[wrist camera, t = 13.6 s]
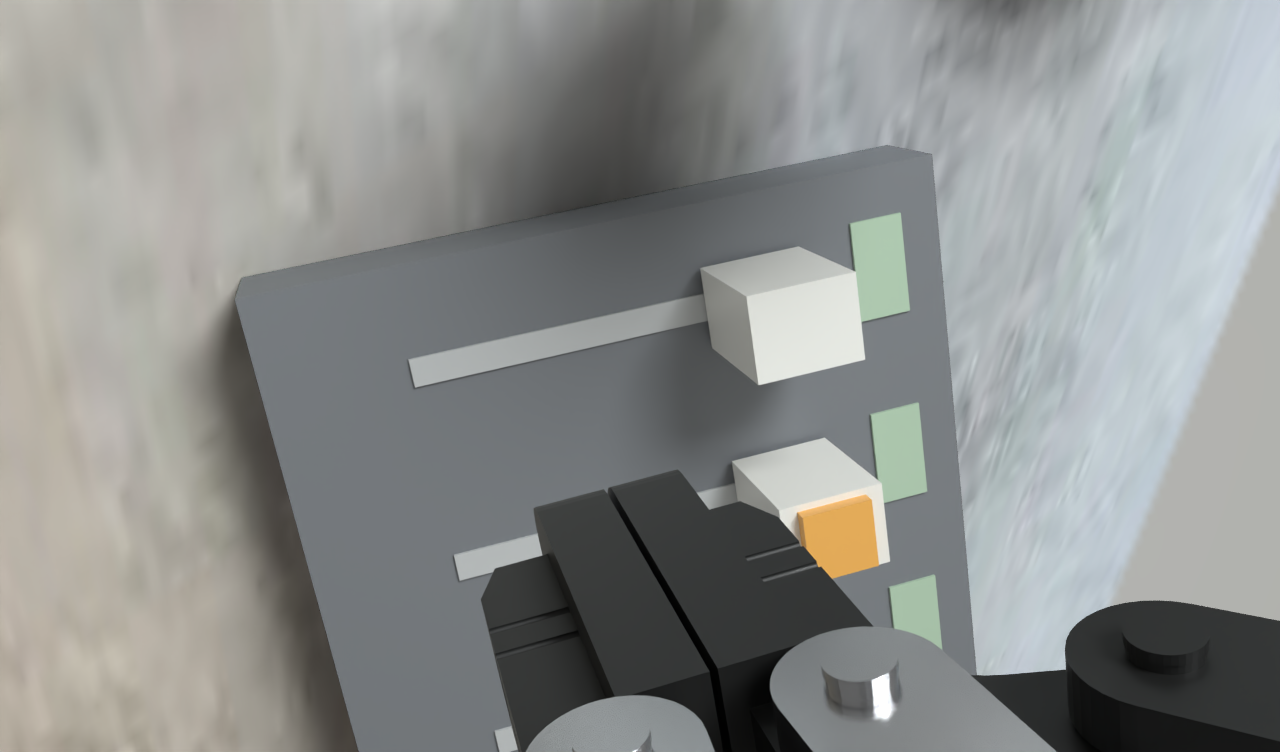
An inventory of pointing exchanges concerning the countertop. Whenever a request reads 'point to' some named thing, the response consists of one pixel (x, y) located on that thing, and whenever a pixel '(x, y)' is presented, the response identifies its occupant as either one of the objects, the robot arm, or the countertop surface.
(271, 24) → the countertop surface
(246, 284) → the grey flat slab
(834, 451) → the block
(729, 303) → the block
